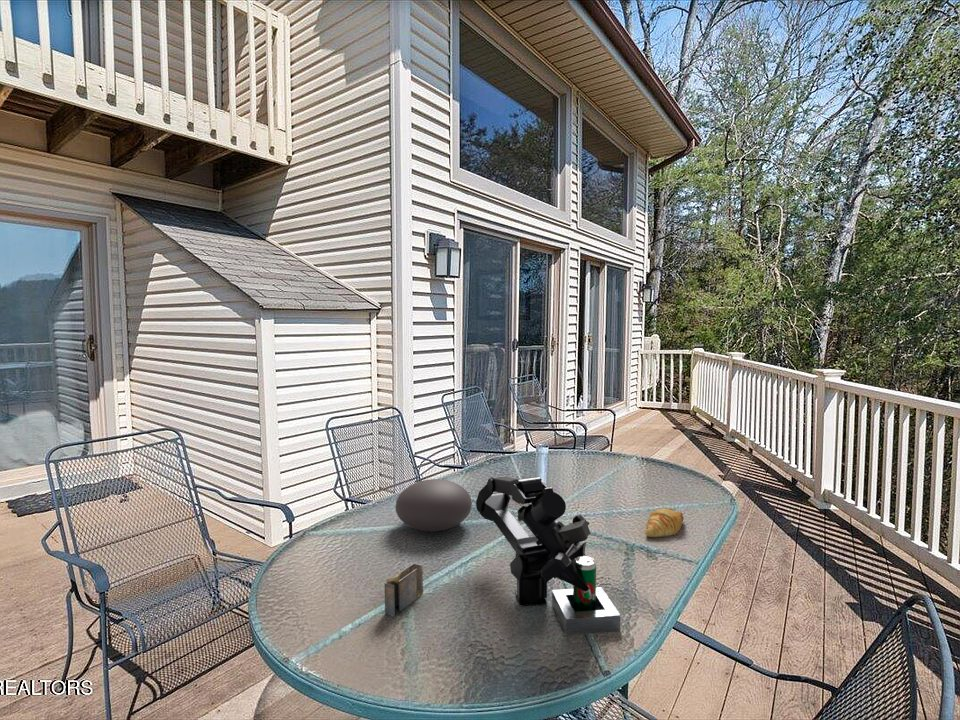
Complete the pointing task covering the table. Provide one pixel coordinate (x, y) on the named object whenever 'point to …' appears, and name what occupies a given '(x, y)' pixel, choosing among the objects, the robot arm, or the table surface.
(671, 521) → the croissant
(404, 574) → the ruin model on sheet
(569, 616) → the sleeve block
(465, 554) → the table surface
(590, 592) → the soda can
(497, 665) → the table surface
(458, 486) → the smooth stone
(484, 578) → the table surface
